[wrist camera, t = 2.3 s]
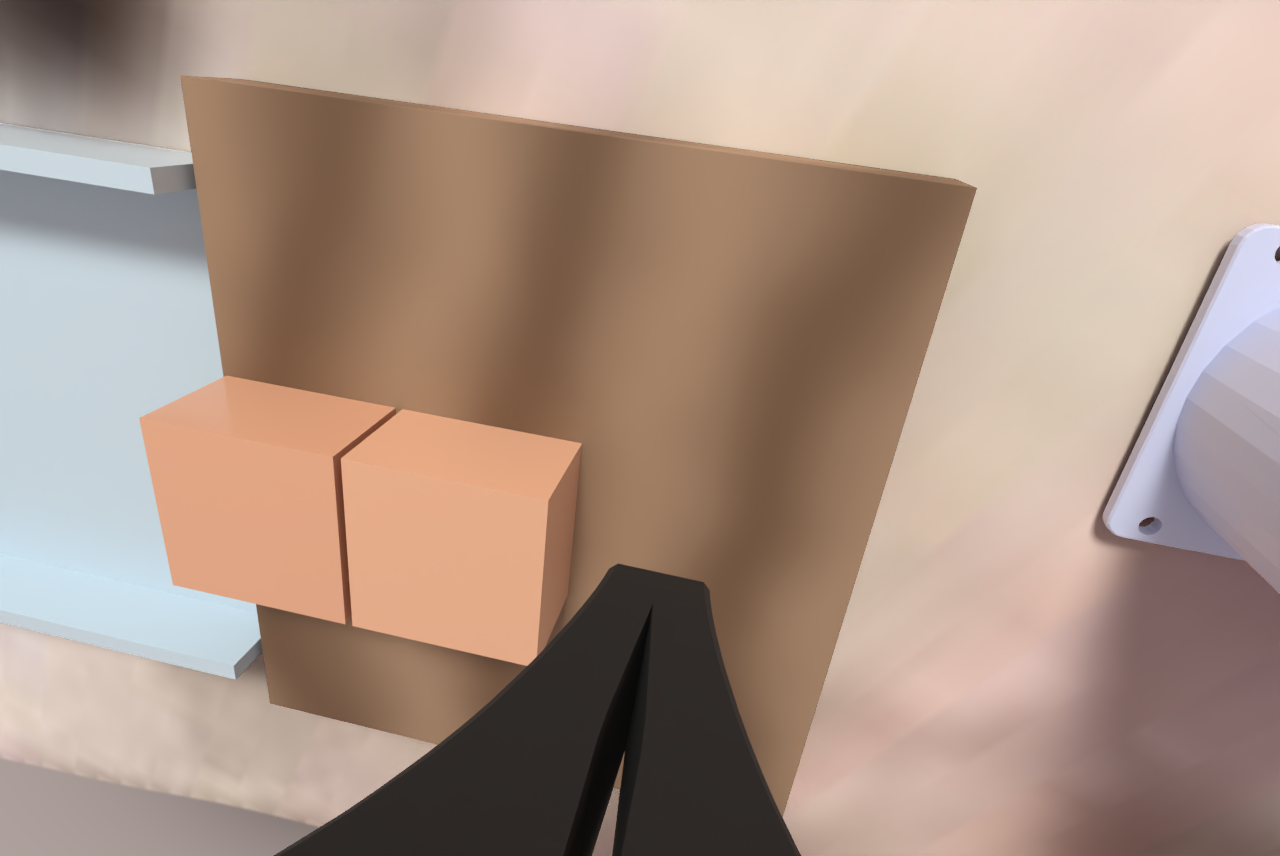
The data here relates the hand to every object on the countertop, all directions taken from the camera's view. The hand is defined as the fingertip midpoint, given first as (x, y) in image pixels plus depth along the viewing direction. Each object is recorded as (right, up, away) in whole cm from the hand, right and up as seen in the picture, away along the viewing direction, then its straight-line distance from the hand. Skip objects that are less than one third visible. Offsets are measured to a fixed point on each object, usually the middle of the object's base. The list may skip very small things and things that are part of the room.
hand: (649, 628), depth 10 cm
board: (-3, +1, +12) cm, 12 cm away
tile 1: (-9, +2, +10) cm, 14 cm away
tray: (-19, +4, +13) cm, 24 cm away
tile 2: (-4, +1, +10) cm, 11 cm away
